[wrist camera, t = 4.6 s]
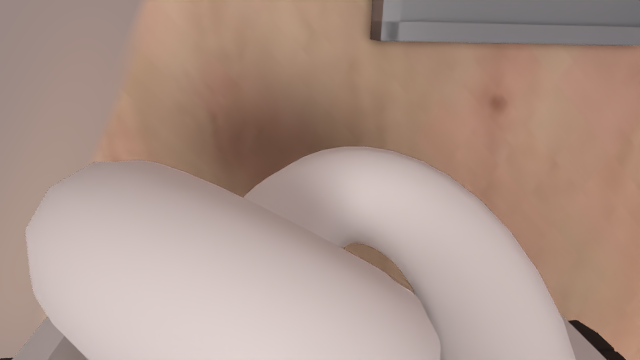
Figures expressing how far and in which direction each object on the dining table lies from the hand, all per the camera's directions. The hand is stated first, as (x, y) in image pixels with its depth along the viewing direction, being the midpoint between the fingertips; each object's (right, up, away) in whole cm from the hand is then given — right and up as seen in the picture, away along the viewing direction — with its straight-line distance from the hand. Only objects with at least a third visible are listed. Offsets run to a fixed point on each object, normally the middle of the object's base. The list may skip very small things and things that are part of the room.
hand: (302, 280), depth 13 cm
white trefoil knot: (-1, 0, +1) cm, 1 cm away
